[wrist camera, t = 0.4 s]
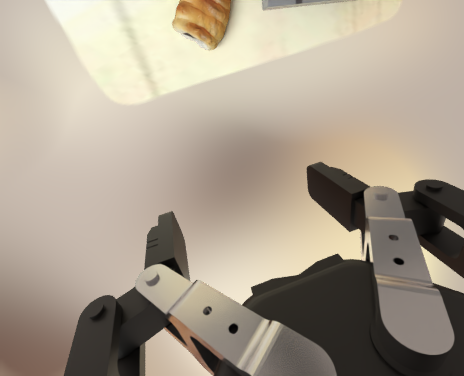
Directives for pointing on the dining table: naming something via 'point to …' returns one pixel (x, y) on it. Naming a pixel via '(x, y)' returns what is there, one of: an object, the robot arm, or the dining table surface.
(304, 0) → the console
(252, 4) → the dining table surface
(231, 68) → the dining table surface
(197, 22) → the pastry
